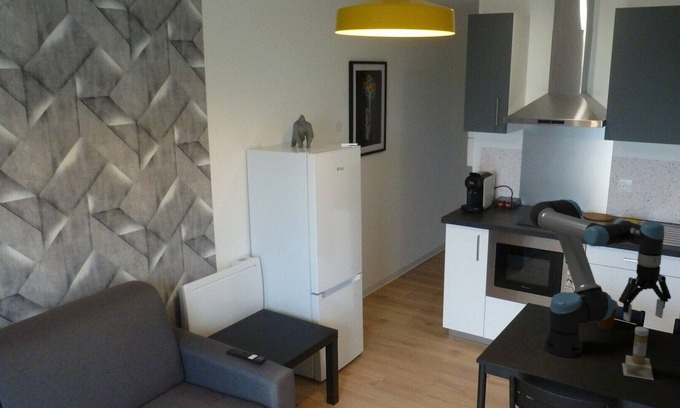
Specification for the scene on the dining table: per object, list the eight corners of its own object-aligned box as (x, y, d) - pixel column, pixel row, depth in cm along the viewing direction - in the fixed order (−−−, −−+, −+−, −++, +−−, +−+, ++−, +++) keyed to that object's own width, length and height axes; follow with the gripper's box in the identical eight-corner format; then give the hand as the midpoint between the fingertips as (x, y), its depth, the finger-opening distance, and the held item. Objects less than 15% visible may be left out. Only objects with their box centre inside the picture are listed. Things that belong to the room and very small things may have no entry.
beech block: (626, 374, 215) (627, 364, 214) (625, 364, 223) (626, 355, 222) (650, 378, 212) (651, 368, 211) (648, 368, 220) (649, 358, 219)
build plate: (623, 376, 215) (623, 375, 215) (621, 364, 224) (622, 362, 224) (653, 381, 211) (653, 379, 211) (650, 369, 220) (650, 367, 220)
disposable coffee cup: (620, 330, 254) (622, 305, 251) (598, 330, 254) (600, 305, 251) (610, 321, 263) (612, 297, 260) (589, 322, 263) (591, 297, 260)
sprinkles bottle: (631, 357, 220) (635, 325, 217) (645, 360, 218) (648, 327, 215) (631, 363, 216) (635, 330, 213) (645, 365, 214) (649, 332, 211)
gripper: (625, 270, 202) (620, 325, 207) (686, 264, 207) (679, 319, 212) (611, 263, 209) (606, 317, 214) (670, 258, 214) (664, 311, 219)
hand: (642, 318), depth 213 cm, fingers open, 13 cm apart
